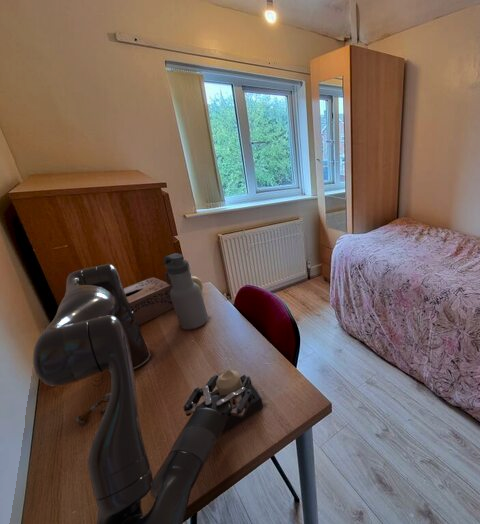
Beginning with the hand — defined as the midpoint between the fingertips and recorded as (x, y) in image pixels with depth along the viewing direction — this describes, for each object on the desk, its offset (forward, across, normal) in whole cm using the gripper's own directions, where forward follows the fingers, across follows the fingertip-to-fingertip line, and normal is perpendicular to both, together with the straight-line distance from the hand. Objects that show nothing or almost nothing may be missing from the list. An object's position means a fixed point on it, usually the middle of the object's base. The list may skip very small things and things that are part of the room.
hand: (232, 377), depth 74 cm
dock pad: (-2, 0, +8) cm, 8 cm away
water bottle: (+33, +32, +8) cm, 47 cm away
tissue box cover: (+36, +58, +8) cm, 69 cm away
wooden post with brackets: (-6, +35, +8) cm, 36 cm away
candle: (-2, 0, +7) cm, 7 cm away
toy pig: (+50, +43, +8) cm, 67 cm away
